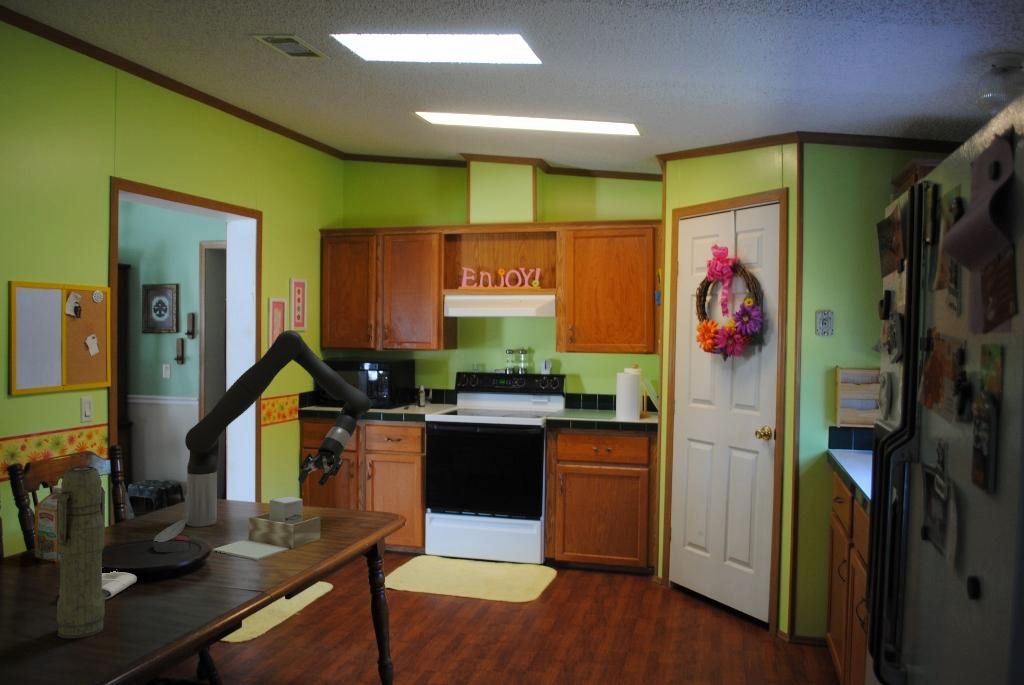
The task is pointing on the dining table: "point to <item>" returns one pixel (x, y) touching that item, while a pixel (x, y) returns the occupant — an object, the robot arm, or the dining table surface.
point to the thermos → (80, 553)
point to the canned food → (172, 532)
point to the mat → (251, 549)
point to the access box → (283, 531)
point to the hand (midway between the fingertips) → (310, 483)
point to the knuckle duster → (116, 582)
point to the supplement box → (286, 510)
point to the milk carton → (47, 527)
